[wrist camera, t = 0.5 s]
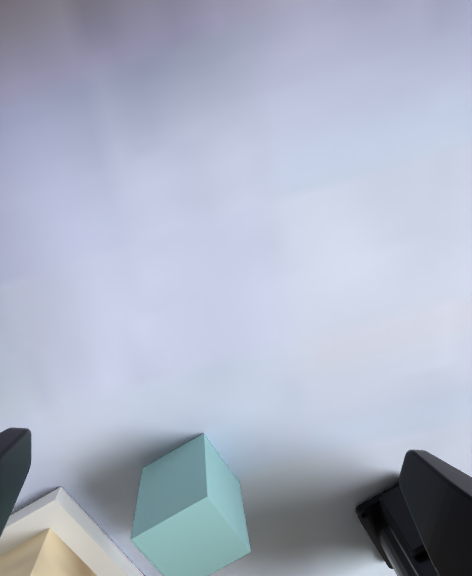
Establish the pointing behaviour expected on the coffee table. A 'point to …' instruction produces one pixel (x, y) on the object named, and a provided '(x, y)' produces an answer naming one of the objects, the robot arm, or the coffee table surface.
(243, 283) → the coffee table surface
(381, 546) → the robot arm
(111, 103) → the coffee table surface
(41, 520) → the baseplate
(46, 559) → the maple brick
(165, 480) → the teal block
